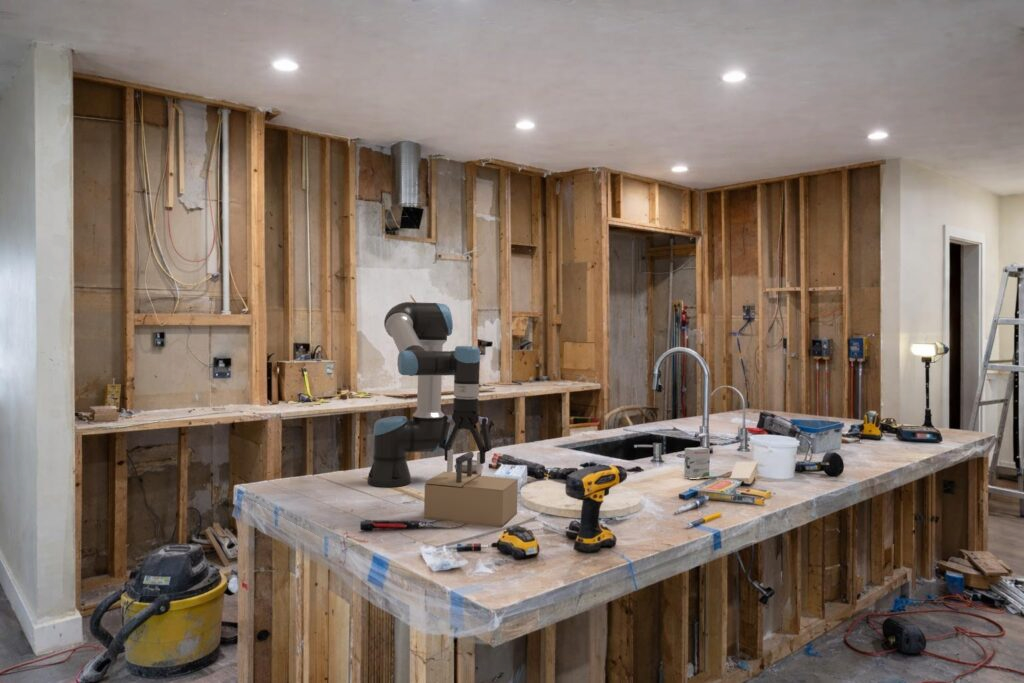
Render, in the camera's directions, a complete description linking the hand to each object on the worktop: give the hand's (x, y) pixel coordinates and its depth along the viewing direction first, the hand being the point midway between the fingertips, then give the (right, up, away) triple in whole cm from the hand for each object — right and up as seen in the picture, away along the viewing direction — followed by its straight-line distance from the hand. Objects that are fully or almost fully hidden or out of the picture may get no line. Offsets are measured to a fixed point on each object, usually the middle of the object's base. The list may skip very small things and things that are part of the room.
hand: (464, 473), depth 204 cm
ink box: (+86, -14, +60) cm, 106 cm away
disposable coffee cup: (0, -12, +20) cm, 24 cm away
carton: (+2, -13, 0) cm, 13 cm away
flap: (-4, -2, +1) cm, 4 cm away
